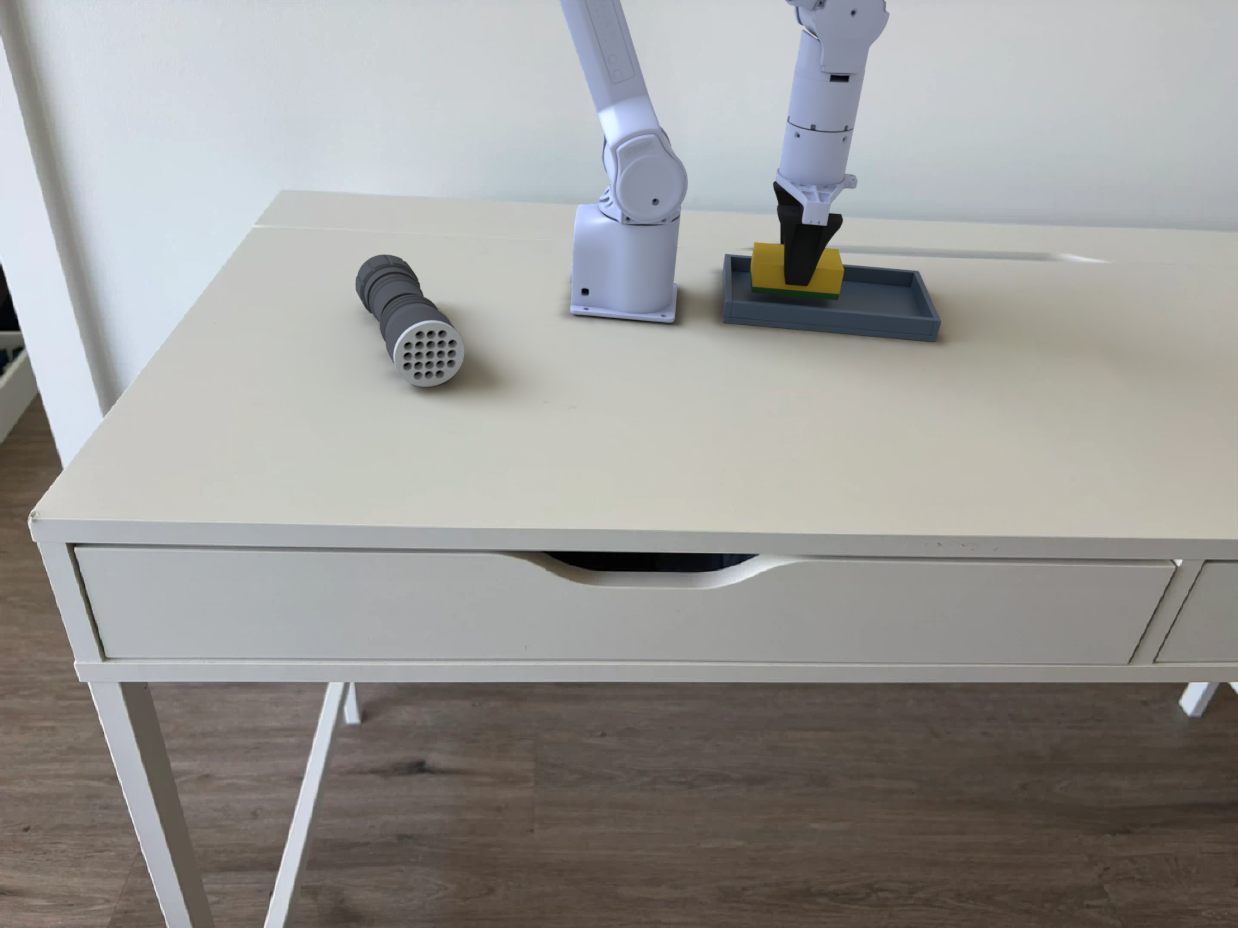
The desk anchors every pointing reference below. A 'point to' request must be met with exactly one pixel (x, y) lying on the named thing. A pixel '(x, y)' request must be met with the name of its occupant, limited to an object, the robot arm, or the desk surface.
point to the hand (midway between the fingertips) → (794, 271)
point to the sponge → (771, 278)
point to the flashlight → (409, 322)
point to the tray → (837, 304)
